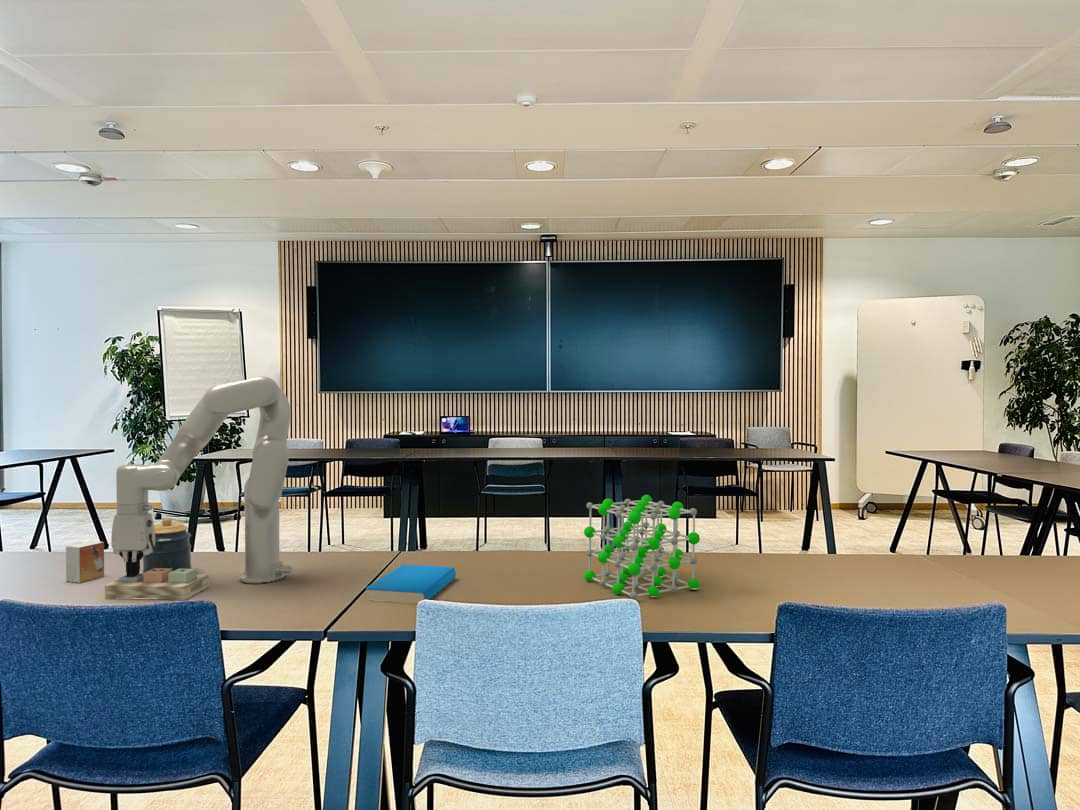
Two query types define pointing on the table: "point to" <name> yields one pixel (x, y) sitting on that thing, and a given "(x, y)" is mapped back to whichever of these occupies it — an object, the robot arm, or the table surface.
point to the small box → (84, 561)
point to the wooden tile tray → (156, 589)
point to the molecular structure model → (640, 546)
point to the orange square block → (157, 575)
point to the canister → (169, 547)
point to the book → (411, 583)
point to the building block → (132, 578)
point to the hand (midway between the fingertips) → (132, 575)
